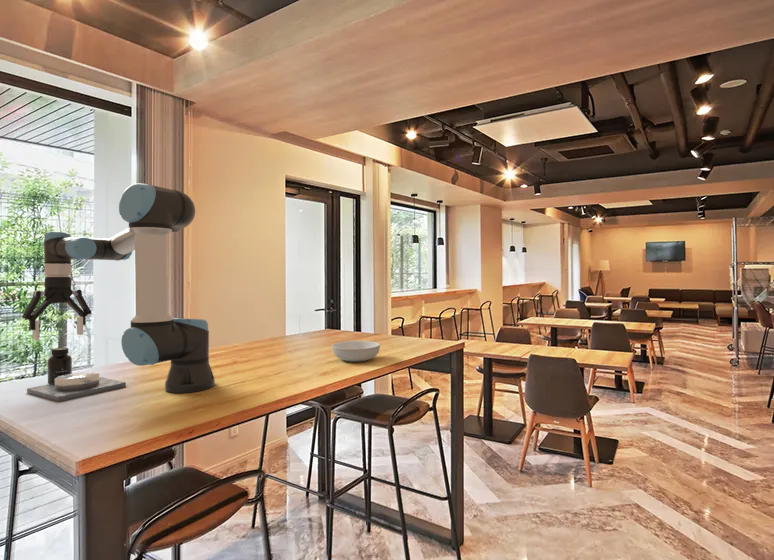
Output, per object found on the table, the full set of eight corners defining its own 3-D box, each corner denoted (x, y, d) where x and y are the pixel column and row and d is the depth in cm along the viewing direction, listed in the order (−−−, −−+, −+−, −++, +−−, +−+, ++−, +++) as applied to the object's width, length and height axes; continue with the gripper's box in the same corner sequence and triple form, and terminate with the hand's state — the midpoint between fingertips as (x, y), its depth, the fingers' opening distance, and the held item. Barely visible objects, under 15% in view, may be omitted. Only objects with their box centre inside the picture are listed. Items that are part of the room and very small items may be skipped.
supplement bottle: (59, 385, 152) (58, 350, 152) (42, 384, 153) (42, 350, 153) (77, 380, 159) (76, 347, 158) (61, 380, 160) (60, 346, 160)
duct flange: (125, 386, 150) (125, 373, 150) (58, 401, 132) (57, 386, 132) (93, 379, 160) (93, 367, 160) (27, 393, 142) (26, 379, 142)
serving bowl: (322, 361, 191) (321, 345, 191) (352, 354, 208) (352, 339, 208) (360, 367, 179) (360, 350, 179) (389, 358, 196) (389, 343, 196)
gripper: (90, 275, 168) (91, 331, 168) (9, 276, 146) (10, 340, 147) (101, 276, 164) (102, 333, 165) (19, 276, 143) (20, 342, 143)
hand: (58, 337), depth 156 cm, fingers open, 13 cm apart
